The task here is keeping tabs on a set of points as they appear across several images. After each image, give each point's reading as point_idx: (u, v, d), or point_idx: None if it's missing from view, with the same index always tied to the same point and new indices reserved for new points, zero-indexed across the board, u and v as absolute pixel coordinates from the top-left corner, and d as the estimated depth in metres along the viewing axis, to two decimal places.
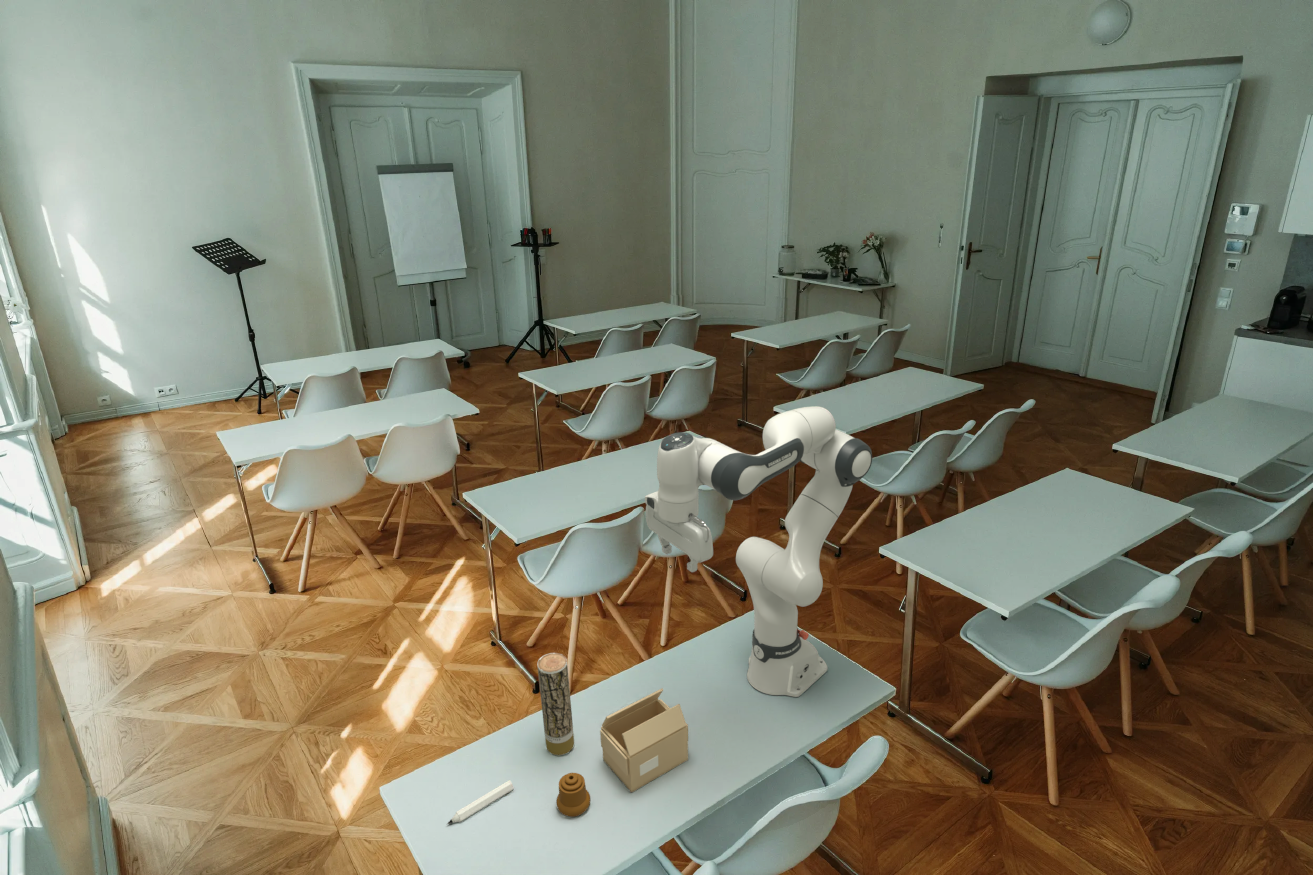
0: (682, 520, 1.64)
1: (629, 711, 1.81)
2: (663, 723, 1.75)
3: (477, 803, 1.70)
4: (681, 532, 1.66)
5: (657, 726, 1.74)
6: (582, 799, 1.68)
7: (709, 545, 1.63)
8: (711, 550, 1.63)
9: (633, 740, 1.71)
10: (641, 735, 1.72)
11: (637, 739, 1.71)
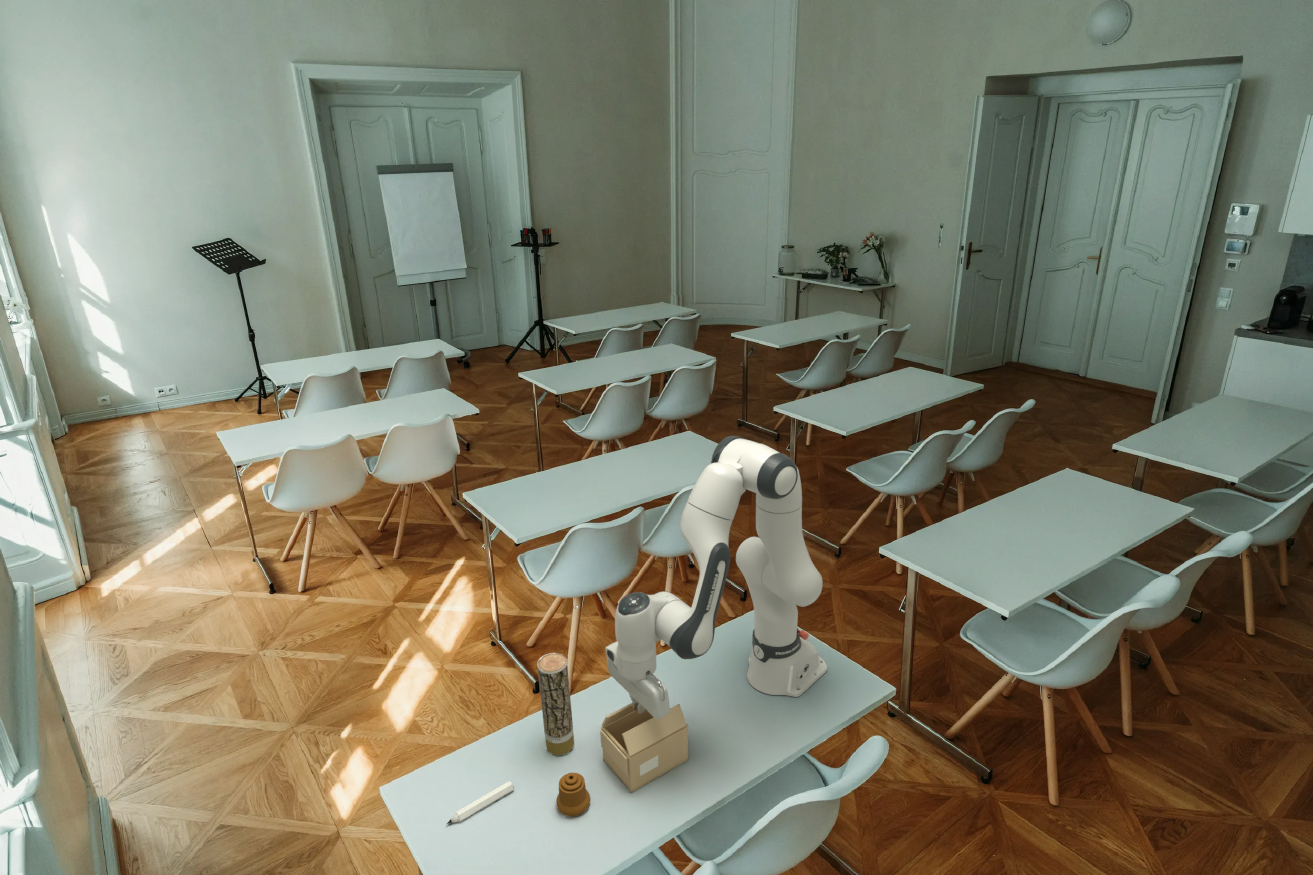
0: (640, 678, 1.69)
1: (629, 711, 1.81)
2: (663, 723, 1.75)
3: (476, 803, 1.70)
4: (639, 687, 1.72)
5: (657, 726, 1.74)
6: (582, 799, 1.68)
7: (665, 703, 1.68)
8: (668, 707, 1.69)
9: (633, 740, 1.71)
10: (641, 735, 1.72)
11: (637, 739, 1.71)
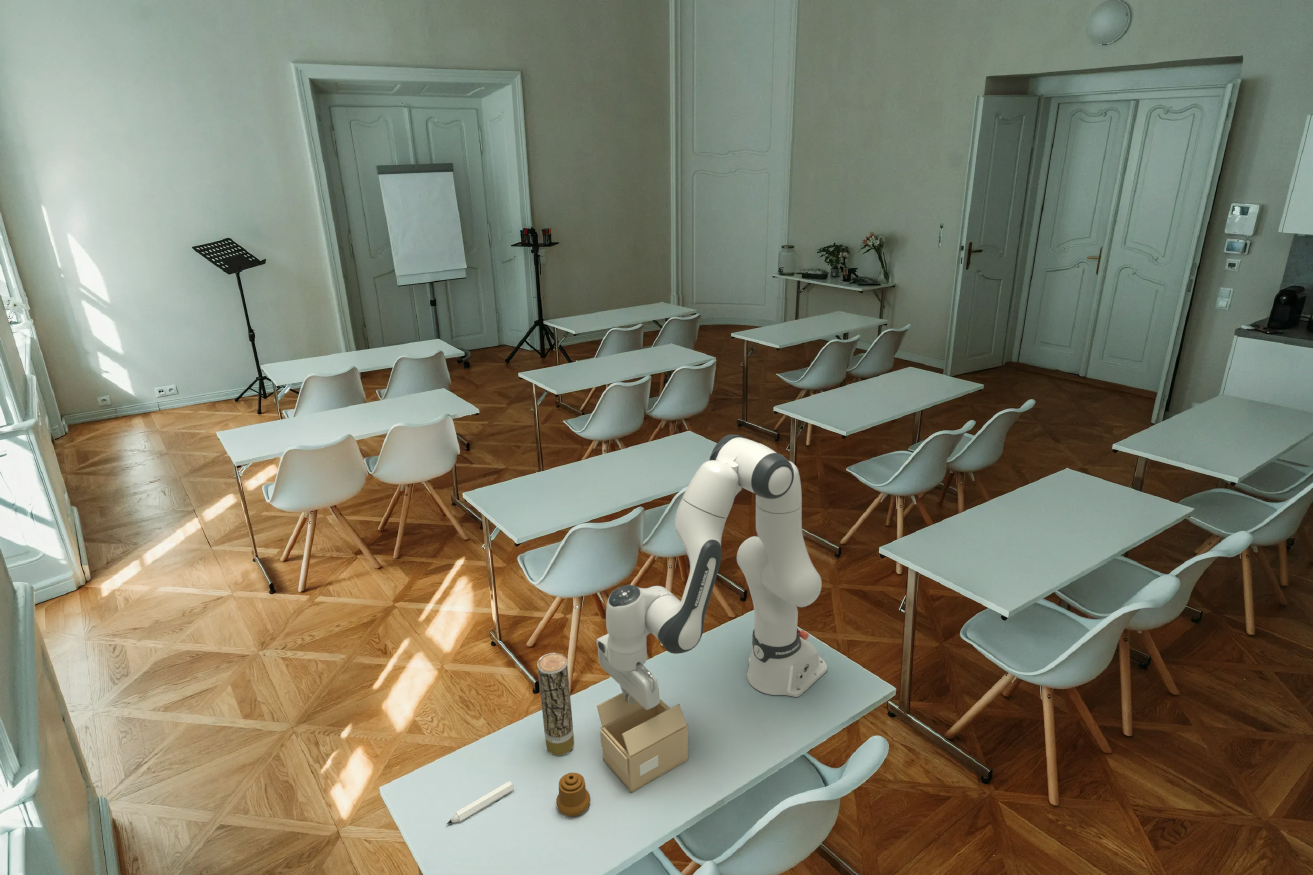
0: (630, 669, 1.72)
1: (626, 707, 1.82)
2: (663, 723, 1.75)
3: (476, 803, 1.70)
4: (630, 679, 1.74)
5: (657, 726, 1.74)
6: (582, 799, 1.68)
7: (655, 694, 1.71)
8: (657, 698, 1.71)
9: (633, 740, 1.71)
10: (641, 735, 1.72)
11: (637, 739, 1.71)
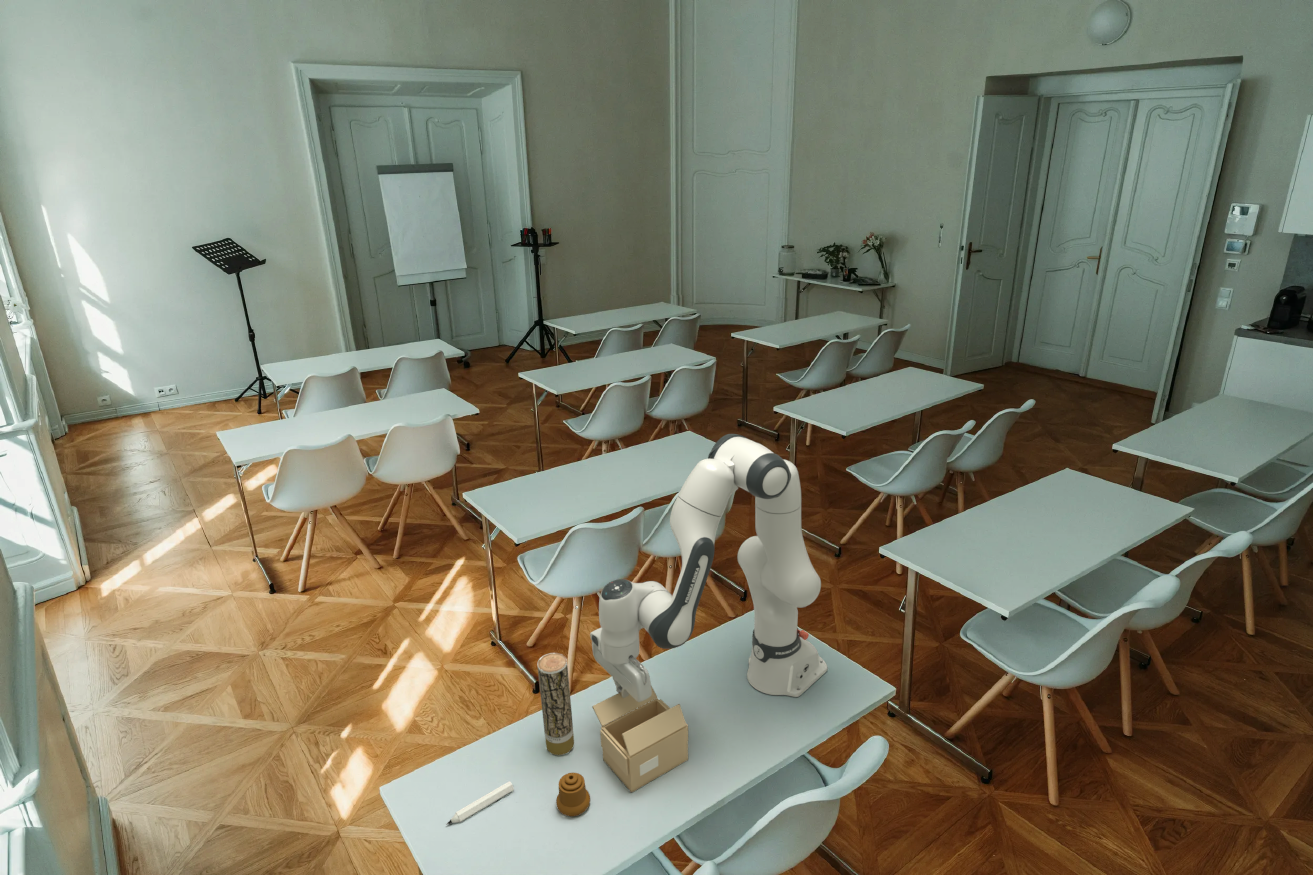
0: (622, 662, 1.75)
1: (624, 706, 1.82)
2: (663, 723, 1.75)
3: (476, 804, 1.70)
4: (622, 671, 1.77)
5: (657, 726, 1.74)
6: (582, 799, 1.68)
7: (647, 686, 1.73)
8: (649, 691, 1.74)
9: (633, 740, 1.71)
10: (641, 735, 1.72)
11: (637, 739, 1.71)
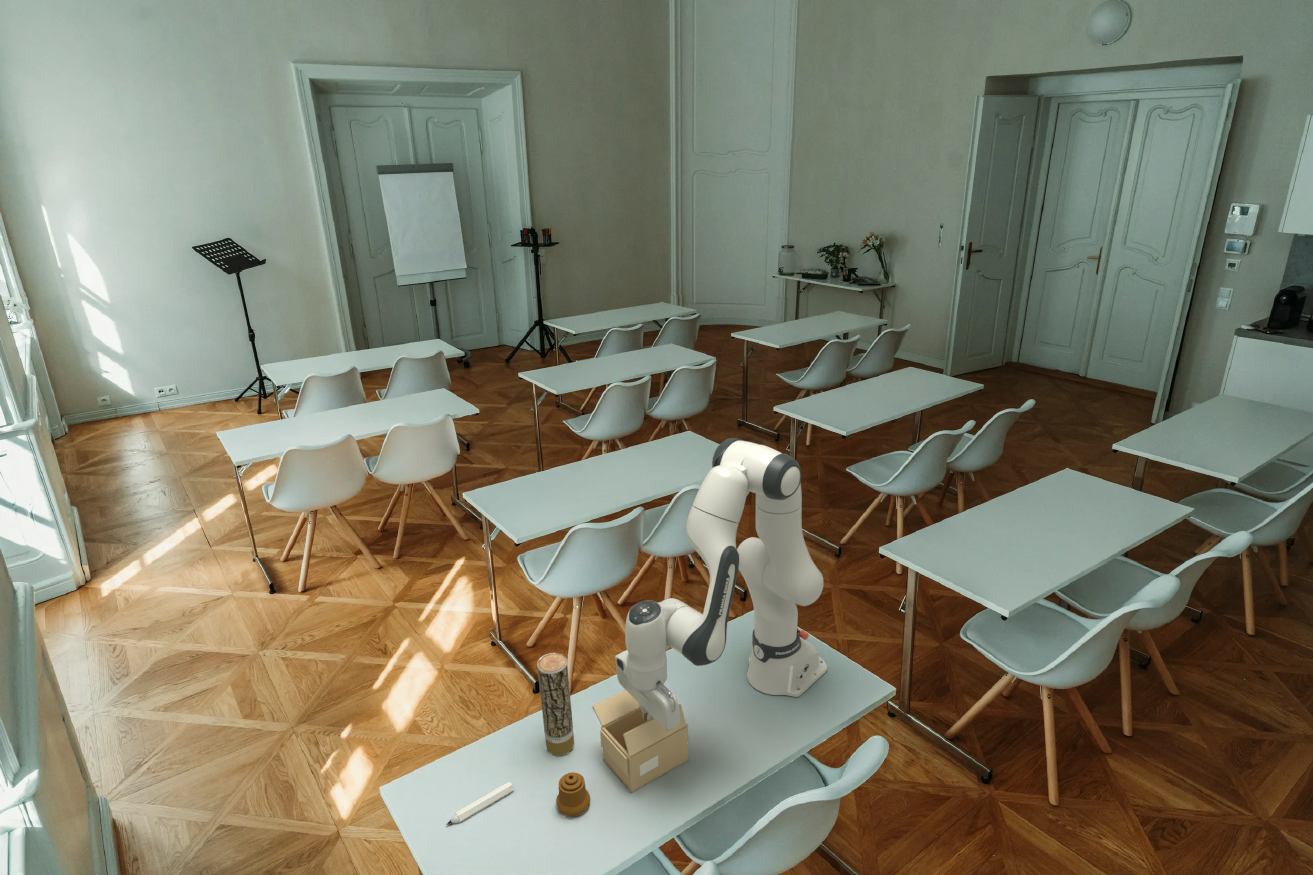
0: (650, 688, 1.66)
1: (624, 706, 1.82)
2: None
3: (476, 804, 1.70)
4: (649, 698, 1.68)
5: (658, 726, 1.74)
6: (582, 799, 1.68)
7: (676, 714, 1.65)
8: (678, 718, 1.65)
9: (634, 740, 1.70)
10: (641, 736, 1.72)
11: (638, 739, 1.71)
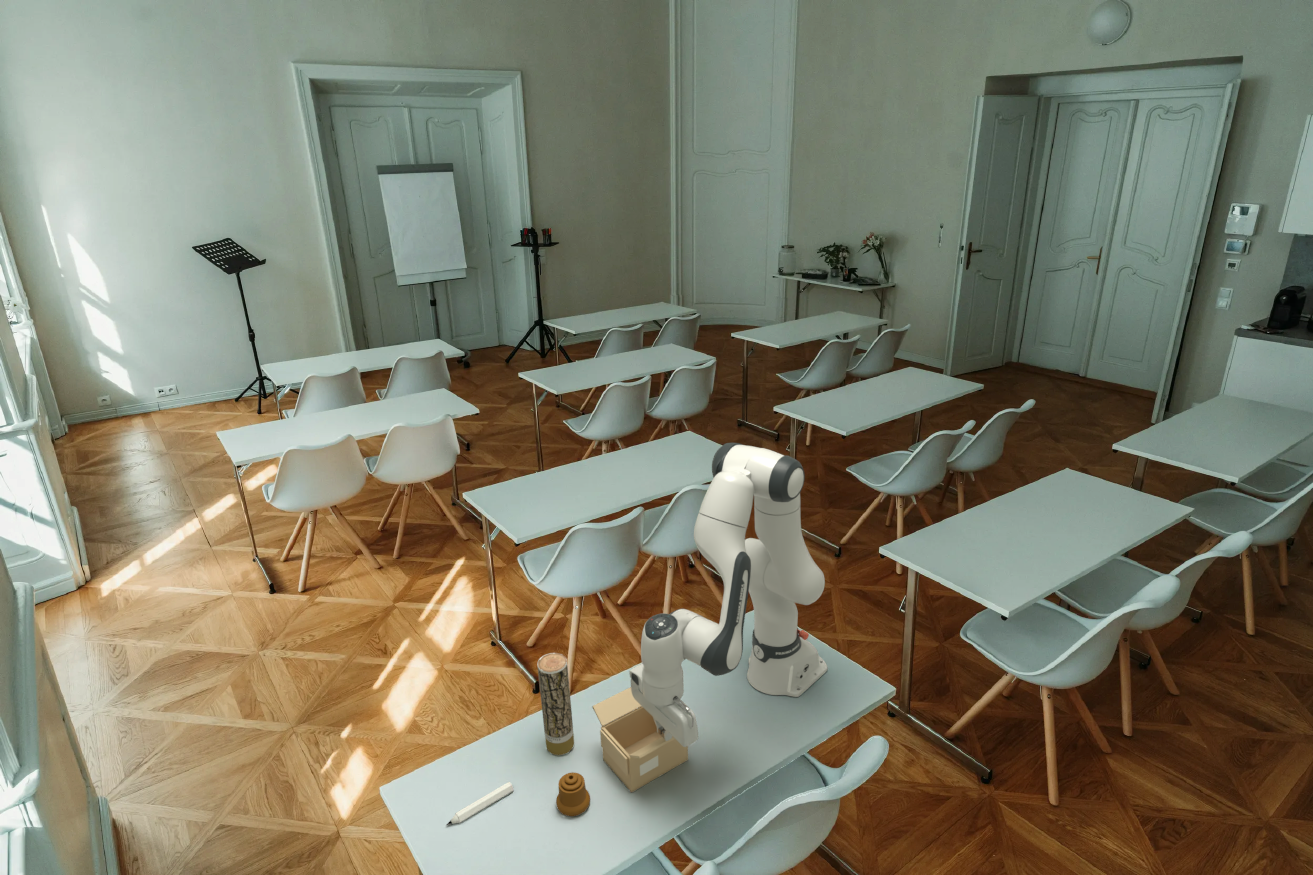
0: (667, 703, 1.62)
1: (624, 706, 1.82)
2: None
3: (476, 804, 1.69)
4: (666, 713, 1.64)
5: None
6: (582, 799, 1.68)
7: (694, 730, 1.61)
8: (696, 734, 1.61)
9: None
10: None
11: None
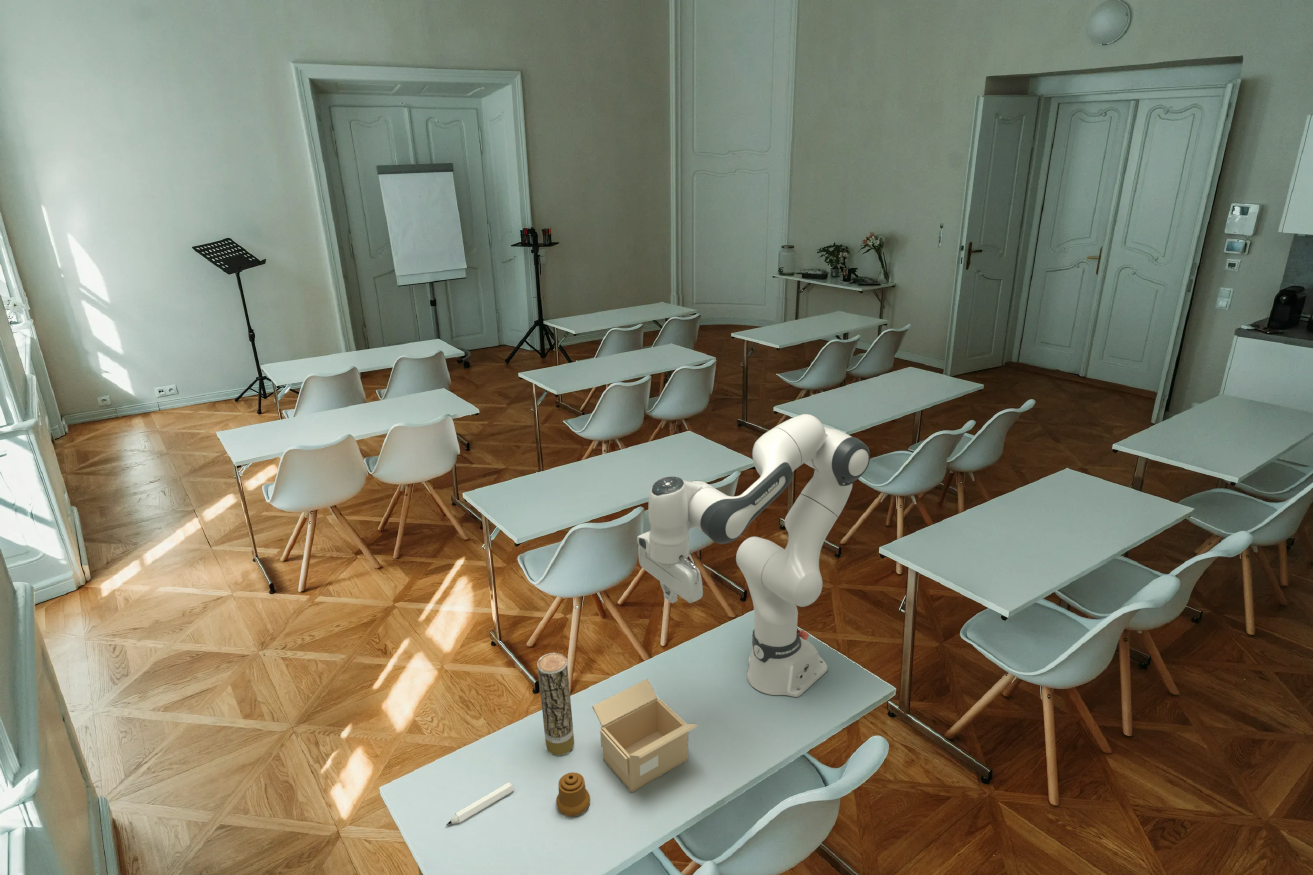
0: (673, 562, 1.69)
1: (624, 706, 1.82)
2: None
3: (476, 804, 1.69)
4: (672, 573, 1.71)
5: None
6: (582, 799, 1.68)
7: (699, 586, 1.68)
8: (701, 591, 1.68)
9: None
10: None
11: None
